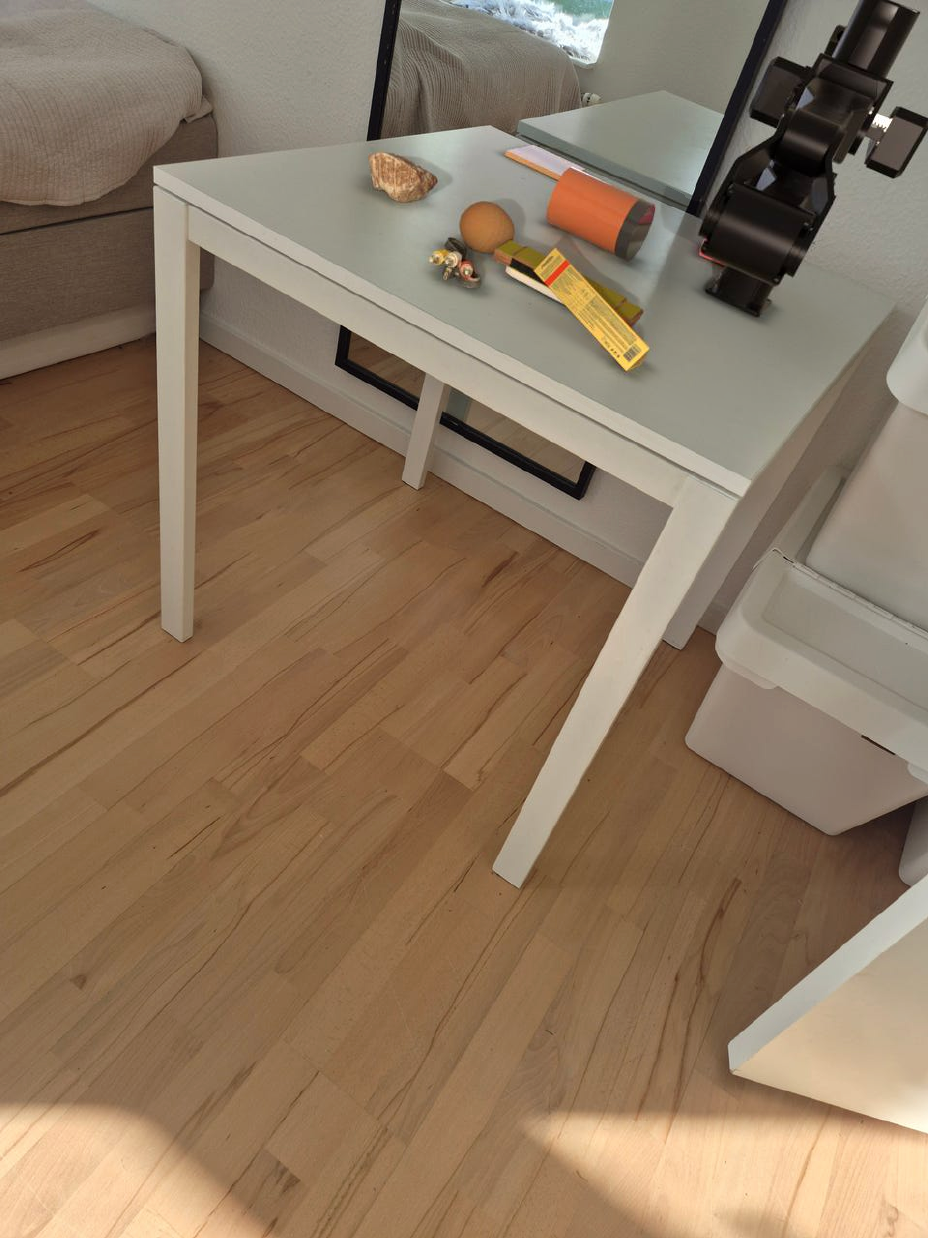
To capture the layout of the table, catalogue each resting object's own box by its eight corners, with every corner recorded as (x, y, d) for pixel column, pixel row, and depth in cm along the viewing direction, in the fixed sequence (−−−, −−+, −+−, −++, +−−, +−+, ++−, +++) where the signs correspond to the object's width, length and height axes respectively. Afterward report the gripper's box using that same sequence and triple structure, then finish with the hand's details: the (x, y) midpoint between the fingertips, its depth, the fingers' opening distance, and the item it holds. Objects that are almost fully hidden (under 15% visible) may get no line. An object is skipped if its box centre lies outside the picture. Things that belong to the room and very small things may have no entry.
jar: (540, 227, 91) (559, 169, 87) (562, 218, 95) (581, 163, 91) (620, 266, 89) (642, 208, 85) (638, 255, 93) (661, 200, 89)
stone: (427, 221, 87) (442, 173, 86) (422, 201, 81) (438, 149, 81) (363, 199, 87) (377, 151, 86) (353, 178, 81) (369, 125, 81)
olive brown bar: (511, 235, 78) (505, 256, 80) (495, 245, 76) (489, 265, 78) (645, 306, 75) (637, 325, 77) (633, 318, 73) (624, 338, 75)
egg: (460, 187, 77) (507, 205, 81) (443, 236, 80) (490, 250, 83) (485, 203, 75) (533, 220, 79) (467, 252, 77) (514, 267, 81)
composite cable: (443, 243, 79) (452, 217, 77) (490, 263, 79) (499, 238, 78) (422, 277, 72) (431, 249, 70) (473, 300, 72) (483, 272, 70)
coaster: (559, 181, 106) (561, 176, 106) (504, 155, 108) (505, 150, 108) (584, 173, 112) (585, 168, 112) (531, 149, 114) (533, 144, 114)
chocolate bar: (650, 348, 69) (652, 353, 71) (555, 247, 70) (560, 255, 72) (626, 371, 69) (629, 376, 72) (533, 270, 71) (538, 278, 73)
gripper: (969, 65, 81) (959, 69, 93) (793, -6, 83) (805, 7, 95) (898, 185, 88) (897, 174, 100) (737, 116, 90) (755, 114, 102)
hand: (840, 116), depth 99 cm, fingers open, 9 cm apart
